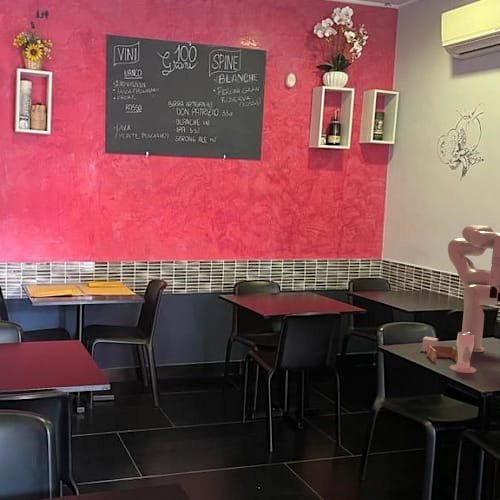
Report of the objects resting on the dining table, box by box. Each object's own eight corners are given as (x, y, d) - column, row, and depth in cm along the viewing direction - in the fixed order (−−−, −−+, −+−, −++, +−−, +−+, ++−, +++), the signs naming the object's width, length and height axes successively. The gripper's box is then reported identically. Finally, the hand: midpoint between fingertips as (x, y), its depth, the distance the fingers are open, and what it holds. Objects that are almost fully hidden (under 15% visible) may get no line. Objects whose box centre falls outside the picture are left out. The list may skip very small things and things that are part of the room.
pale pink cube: (434, 353, 319) (435, 340, 318) (421, 351, 321) (422, 338, 321) (437, 350, 324) (438, 338, 324) (424, 348, 327) (425, 336, 326)
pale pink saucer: (446, 365, 297) (446, 363, 297) (471, 366, 297) (471, 365, 297) (453, 372, 286) (453, 370, 286) (479, 373, 286) (480, 372, 286)
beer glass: (472, 371, 288) (475, 336, 287) (455, 369, 289) (458, 334, 288) (470, 366, 295) (473, 332, 293) (453, 364, 296) (456, 330, 295)
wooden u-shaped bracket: (427, 355, 313) (428, 345, 312) (452, 357, 313) (453, 346, 312) (434, 362, 301) (435, 351, 300) (460, 364, 301) (461, 352, 301)
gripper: (485, 259, 313) (481, 296, 315) (499, 263, 296) (495, 302, 298) (501, 260, 313) (498, 297, 315) (516, 264, 296) (512, 303, 298)
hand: (496, 299), depth 306 cm, fingers open, 9 cm apart
